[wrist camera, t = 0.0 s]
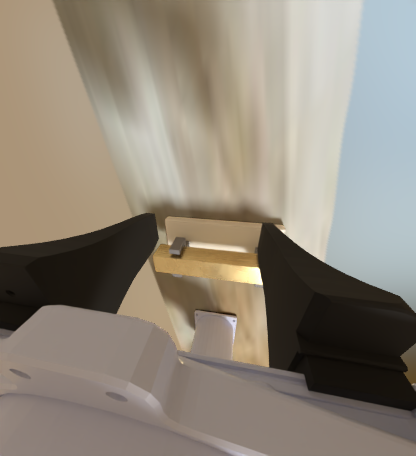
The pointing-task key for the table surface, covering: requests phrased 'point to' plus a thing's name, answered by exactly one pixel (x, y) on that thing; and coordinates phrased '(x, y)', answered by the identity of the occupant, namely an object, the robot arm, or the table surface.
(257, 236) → the hook stand
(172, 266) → the wooden bar
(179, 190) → the table surface
